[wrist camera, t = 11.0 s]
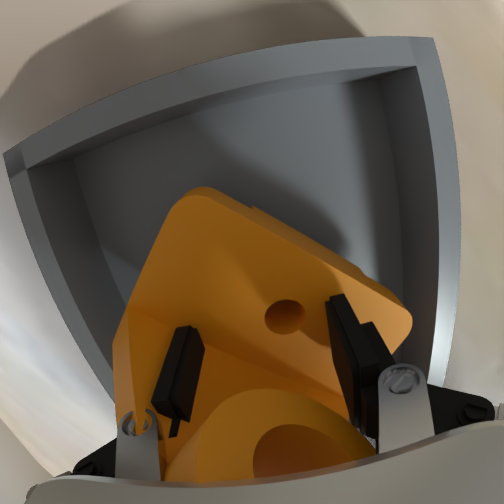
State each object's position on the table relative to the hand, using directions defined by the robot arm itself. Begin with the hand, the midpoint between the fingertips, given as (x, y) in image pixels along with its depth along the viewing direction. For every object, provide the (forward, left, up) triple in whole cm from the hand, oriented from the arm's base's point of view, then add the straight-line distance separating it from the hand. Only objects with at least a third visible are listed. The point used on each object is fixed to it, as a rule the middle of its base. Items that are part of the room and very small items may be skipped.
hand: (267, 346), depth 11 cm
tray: (0, 0, -6) cm, 6 cm away
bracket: (0, 0, -3) cm, 3 cm away
